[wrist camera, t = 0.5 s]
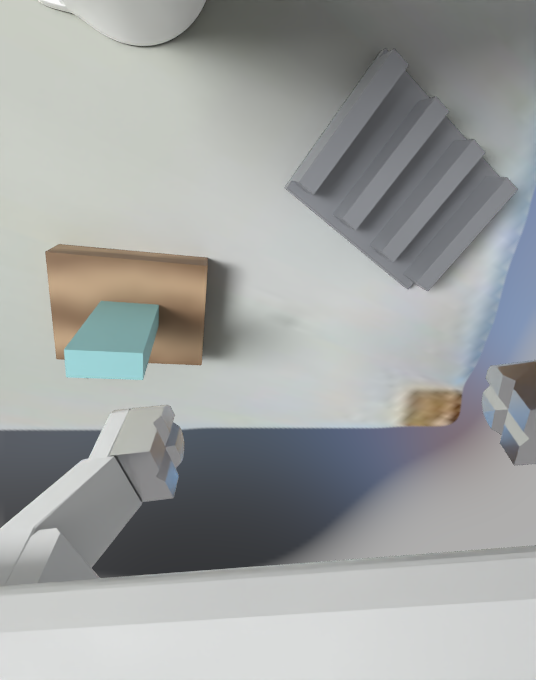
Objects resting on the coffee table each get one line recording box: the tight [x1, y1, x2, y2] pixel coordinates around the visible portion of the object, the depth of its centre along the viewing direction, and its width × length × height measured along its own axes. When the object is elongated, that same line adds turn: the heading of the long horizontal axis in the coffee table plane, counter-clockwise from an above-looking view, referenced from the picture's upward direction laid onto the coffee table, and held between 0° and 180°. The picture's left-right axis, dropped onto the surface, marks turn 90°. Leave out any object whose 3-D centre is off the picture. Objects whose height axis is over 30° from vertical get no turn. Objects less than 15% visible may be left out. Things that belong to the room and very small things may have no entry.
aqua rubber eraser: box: [64, 301, 159, 380], centre depth 37 cm, size 2×6×12 cm, turn 83°
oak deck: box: [45, 244, 208, 365], centre depth 44 cm, size 12×16×4 cm
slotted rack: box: [284, 48, 518, 291], centre depth 43 cm, size 20×16×5 cm
